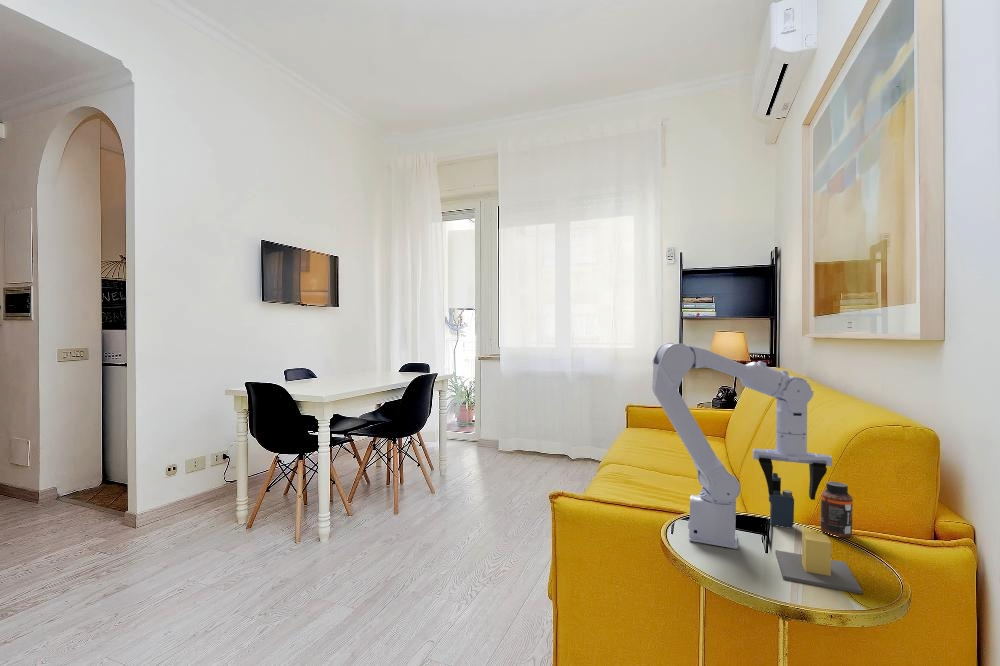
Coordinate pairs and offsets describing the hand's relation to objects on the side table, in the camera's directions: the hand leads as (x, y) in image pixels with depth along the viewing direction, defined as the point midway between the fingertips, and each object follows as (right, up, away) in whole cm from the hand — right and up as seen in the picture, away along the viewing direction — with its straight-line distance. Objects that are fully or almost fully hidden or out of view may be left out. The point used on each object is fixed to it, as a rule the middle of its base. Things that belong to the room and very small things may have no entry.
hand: (791, 495), depth 106 cm
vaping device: (+4, -11, +11) cm, 16 cm away
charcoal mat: (-3, -10, -12) cm, 16 cm away
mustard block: (-2, -10, -12) cm, 16 cm away
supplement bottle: (+14, -11, +7) cm, 19 cm away
